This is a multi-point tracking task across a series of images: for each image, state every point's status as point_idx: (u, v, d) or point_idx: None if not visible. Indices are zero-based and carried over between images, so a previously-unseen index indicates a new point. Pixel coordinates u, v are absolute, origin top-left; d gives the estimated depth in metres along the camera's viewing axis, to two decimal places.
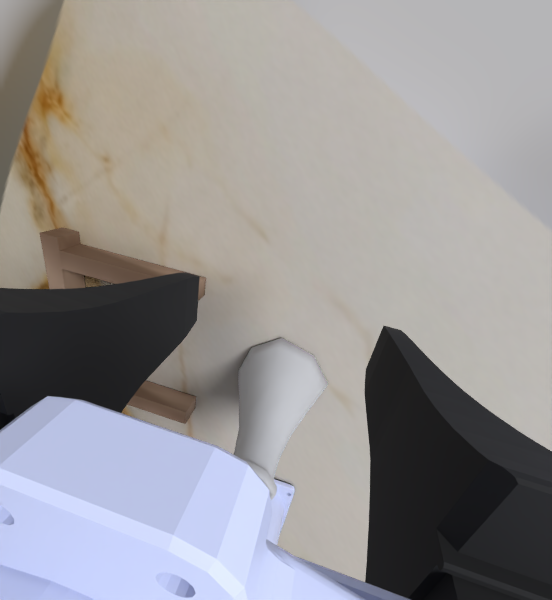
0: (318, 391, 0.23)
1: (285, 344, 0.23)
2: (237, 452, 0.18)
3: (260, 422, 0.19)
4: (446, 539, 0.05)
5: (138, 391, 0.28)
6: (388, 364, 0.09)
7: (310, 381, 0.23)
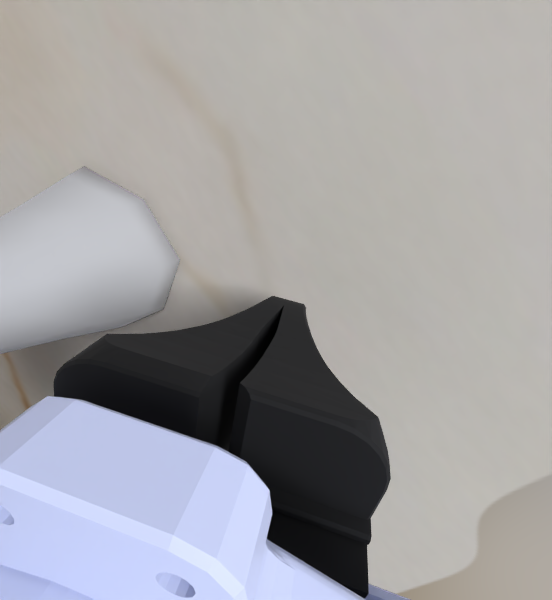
0: (147, 262, 0.12)
1: (87, 175, 0.12)
2: None
3: None
4: None
5: None
6: None
7: (124, 238, 0.12)
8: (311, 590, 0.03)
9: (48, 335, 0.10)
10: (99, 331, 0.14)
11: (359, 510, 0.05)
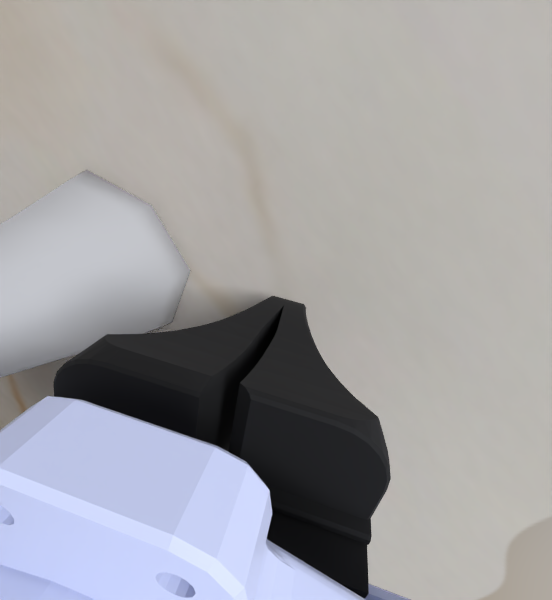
0: (155, 275, 0.11)
1: (90, 180, 0.11)
2: None
3: None
4: None
5: None
6: None
7: (130, 248, 0.11)
8: (311, 590, 0.03)
9: (48, 358, 0.09)
10: None
11: (359, 510, 0.05)
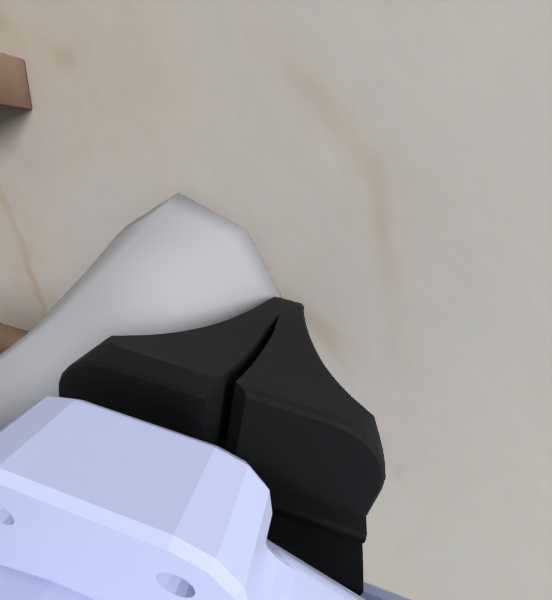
0: (254, 303, 0.11)
1: (183, 204, 0.11)
2: None
3: (40, 334, 0.06)
4: None
5: None
6: None
7: (233, 277, 0.10)
8: (311, 590, 0.03)
9: None
10: None
11: (355, 508, 0.05)
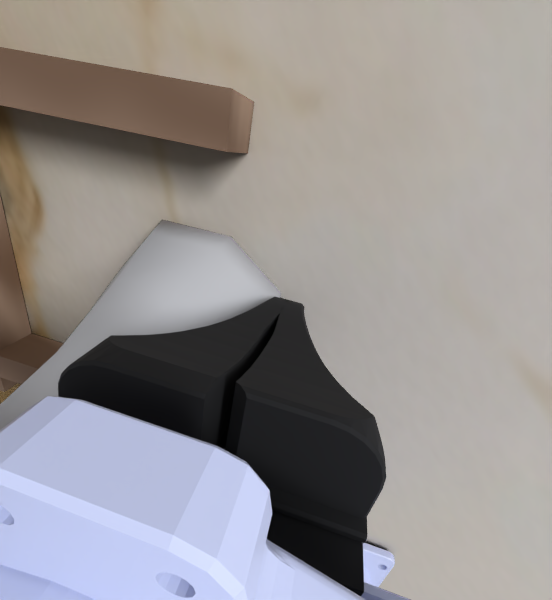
0: (253, 305, 0.11)
1: (168, 228, 0.11)
2: None
3: (44, 368, 0.07)
4: None
5: None
6: None
7: (226, 283, 0.10)
8: (311, 590, 0.03)
9: None
10: None
11: (355, 509, 0.05)
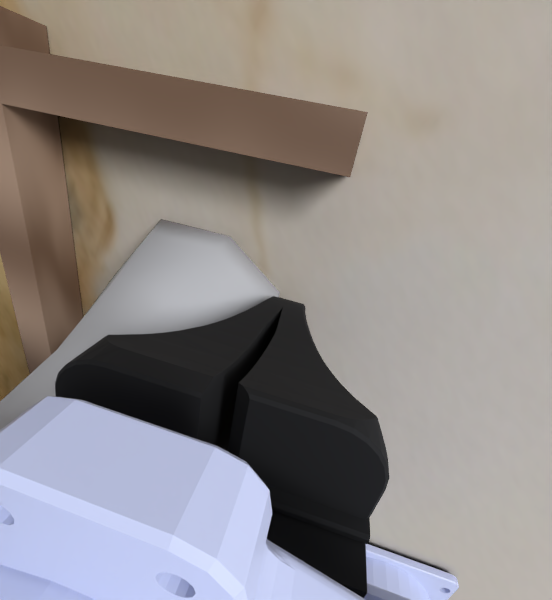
0: (252, 304, 0.11)
1: (167, 227, 0.12)
2: None
3: (43, 366, 0.07)
4: None
5: None
6: None
7: (224, 282, 0.10)
8: (311, 590, 0.03)
9: None
10: None
11: (358, 509, 0.05)
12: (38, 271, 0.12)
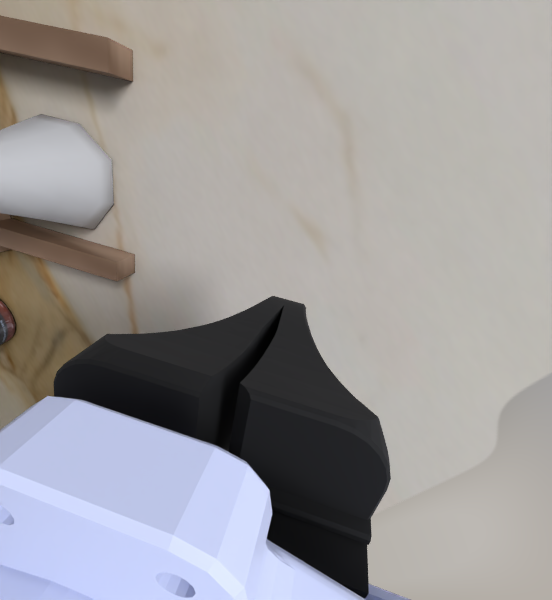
0: (86, 159, 0.19)
1: (43, 118, 0.20)
2: None
3: None
4: None
5: (59, 241, 0.22)
6: None
7: (67, 143, 0.19)
8: (311, 591, 0.03)
9: (28, 197, 0.17)
10: None
11: (359, 510, 0.05)
12: None
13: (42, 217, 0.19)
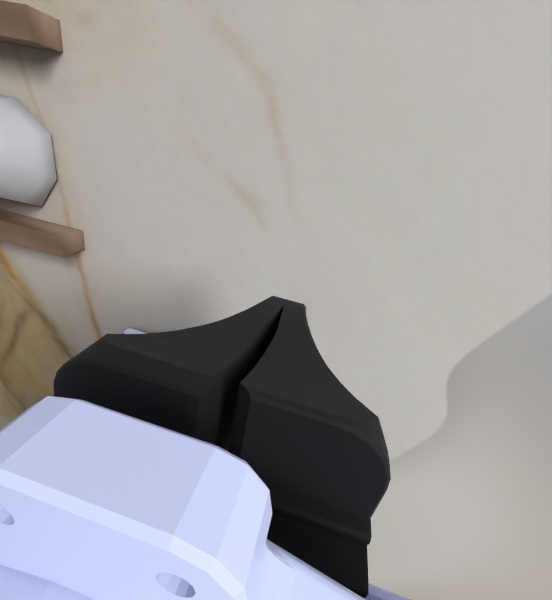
0: (22, 132, 0.19)
1: None
2: None
3: None
4: None
5: (6, 219, 0.22)
6: None
7: (2, 116, 0.19)
8: (311, 590, 0.03)
9: None
10: (17, 200, 0.21)
11: (359, 510, 0.05)
12: None
13: None
